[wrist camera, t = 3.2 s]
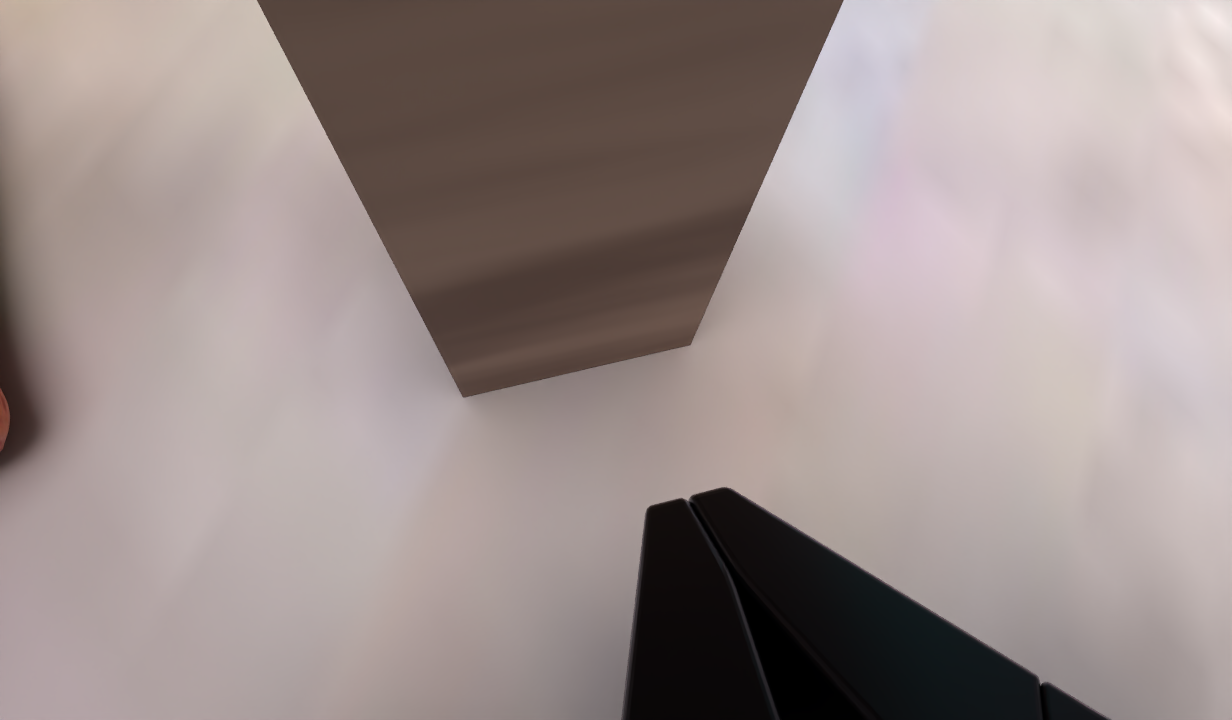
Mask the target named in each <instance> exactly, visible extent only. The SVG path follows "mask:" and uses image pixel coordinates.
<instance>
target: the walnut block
mask: <svg viewBox="0 0 1232 720" xmlns="http://www.w3.org/2000/svg"><path fill="white" fill-rule="evenodd" d="M257 1H258V3H259V5H260V7H261V9H262V11H263V13H264V15H265V16H266V18H267V20H268V22H269V24H270V26H271V28H272V30H273V32H274V34H275V36H276V38H277V40H278V42H279V43H280V45H281V47H282V49H283V51H284V53H285V55H286V57H287V59H288V61H289V63H290V65H291V67H292V69H293V70H294V72H295V74H296V76H297V78H298V80H299V82H300V84H301V86H302V88H303V90H304V92H305V94H306V95H307V97H308V99H309V101H310V103H311V105H312V107H313V109H314V111H315V113H316V115H317V117H318V119H319V121H320V122H321V124H322V126H323V128H324V130H325V132H326V134H327V136H328V138H329V140H330V142H331V144H332V146H333V148H334V149H335V151H336V153H337V155H338V157H339V159H340V161H341V163H342V165H343V167H344V169H345V171H346V173H347V174H348V176H349V178H350V180H351V182H352V184H353V186H354V188H355V190H356V192H357V194H358V196H359V198H360V200H361V201H362V203H363V205H364V207H365V209H366V211H367V213H368V215H369V217H370V219H371V221H372V223H373V225H374V226H375V228H376V230H377V232H378V234H379V236H380V238H381V240H382V242H383V244H384V246H385V248H386V250H387V252H388V253H389V255H390V257H391V259H392V261H393V263H394V265H395V267H396V269H397V271H398V273H399V275H400V277H401V279H402V280H403V282H404V284H405V286H406V288H407V290H408V292H409V294H410V296H411V298H412V300H413V302H414V304H415V305H416V307H417V309H418V311H419V313H420V315H421V317H422V319H423V321H424V323H425V325H426V327H427V329H428V331H429V332H430V334H431V336H432V338H433V340H434V342H435V344H436V346H437V348H438V350H439V352H440V354H441V356H442V357H443V359H444V361H445V363H446V365H447V367H448V369H449V371H450V373H451V375H452V377H453V379H454V381H455V383H456V384H457V386H458V388H459V390H460V392H461V394H462V396H463V397H467V396H472V395H476V394H480V393H485V392H489V391H493V390H497V389H502V388H506V387H510V386H515V385H519V384H523V383H528V382H532V381H536V380H541V379H545V378H549V377H553V376H558V375H562V374H566V373H571V372H575V371H579V370H584V369H588V368H592V367H597V366H601V365H605V364H609V363H614V362H618V361H622V360H627V359H631V358H635V357H640V356H644V355H648V354H653V353H657V352H661V351H665V350H670V349H674V348H678V347H683V346H687V345H690V344H691V342H692V340H693V338H694V335H695V333H696V331H697V329H698V326H699V324H700V322H701V320H702V317H703V315H704V313H705V311H706V308H707V306H708V304H709V302H710V299H711V297H712V295H713V293H714V290H715V288H716V286H717V284H718V281H719V279H720V277H721V275H722V272H723V270H724V268H725V266H726V263H727V261H728V259H729V257H730V254H731V252H732V250H733V248H734V245H735V243H736V241H737V239H738V236H739V234H740V232H741V230H742V227H743V225H744V223H745V221H746V218H747V216H748V214H749V212H750V210H751V207H752V205H753V203H754V201H755V198H756V196H757V194H758V192H759V189H760V187H761V185H762V183H763V180H764V178H765V176H766V174H767V171H768V169H769V167H770V165H771V162H772V160H773V158H774V156H775V153H776V151H777V149H778V147H779V144H780V142H781V140H782V138H783V135H784V133H785V131H786V129H787V126H788V124H789V122H790V120H791V117H792V115H793V113H794V111H795V108H796V106H797V104H798V102H799V99H800V97H801V95H802V93H803V90H804V88H805V86H806V84H807V81H808V79H809V77H810V75H811V72H812V70H813V68H814V66H815V63H816V61H817V59H818V57H819V54H820V52H821V50H822V48H823V45H824V43H825V41H826V39H827V36H828V34H829V32H830V30H831V27H832V25H833V23H834V21H835V18H836V16H837V14H838V12H839V9H840V7H841V5H842V3H843V0H257Z"/></svg>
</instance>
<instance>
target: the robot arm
mask: <svg viewBox="0 0 1232 720" xmlns="http://www.w3.org/2000/svg"><path fill="white" fill-rule="evenodd" d="M621 720H1111V719H1109V718H1107V717H1106V716H1104V715H1102V714H1100V713H1099V712H1097V711H1095V710H1094V709H1092V708H1090V707H1089V706H1087V705H1085V704H1084V703H1082V702H1081V701H1079V700H1077V699H1076V698H1074V697H1072V696H1071V695H1069V694H1067V693H1066V692H1064V691H1063V690H1061V689H1059V688H1058V687H1056V686H1054V685H1053V684H1051V683H1049V682H1044V683H1042V684H1041V686H1040V680H1039V677H1038V676H1037V675H1036V674H1034V673H1032V672H1031V671H1029V670H1027V669H1026V668H1024V667H1023V666H1021V665H1019V664H1018V663H1016V662H1014V661H1013V660H1011V659H1009V658H1008V657H1006V656H1005V655H1003V654H1001V653H1000V652H998V651H996V650H995V649H993V648H991V647H990V646H988V645H987V644H985V643H983V642H982V641H980V640H978V639H977V638H975V637H973V636H972V635H970V634H969V633H967V632H965V631H964V630H962V629H960V628H959V627H957V626H955V625H954V624H952V623H951V622H949V621H947V620H946V619H944V618H942V617H941V616H939V615H937V614H936V613H934V612H933V611H931V610H929V609H928V608H926V607H924V606H923V605H921V604H919V603H918V602H916V601H915V600H913V599H911V598H910V597H908V596H906V595H905V594H903V593H901V592H900V591H898V590H897V589H895V588H893V587H892V586H890V585H888V584H887V583H885V582H883V581H882V580H880V579H879V578H877V577H875V576H874V575H872V574H870V573H869V572H867V571H865V570H864V569H862V568H861V567H859V566H857V565H856V564H854V563H852V562H851V561H849V560H847V559H846V558H844V557H843V556H841V555H839V554H838V553H836V552H834V551H833V550H831V549H829V548H828V547H826V546H825V545H823V544H821V543H820V542H818V541H816V540H815V539H813V538H811V537H810V536H808V535H807V534H805V533H803V532H802V531H800V530H798V529H797V528H795V527H793V526H792V525H790V524H789V523H787V522H785V521H784V520H782V519H780V518H779V517H777V516H775V515H774V514H772V513H771V512H769V511H767V510H766V509H764V508H762V507H761V506H759V505H757V504H756V503H754V502H753V501H751V500H749V499H748V498H746V497H744V496H743V495H741V494H739V493H738V492H736V491H735V490H733V489H731V488H727V487H722V488H718V489H714V490H710V491H706V492H702V493H698V494H694V495H692V496H691V497H690V499H689V501H687V500H685V499H683V498H679V499H675V500H671V501H667V502H663V503H659V504H655V505H652V506H650V507H648V508H647V510H646V513H645V521H644V530H643V538H642V547H641V556H640V564H639V573H638V581H637V590H636V598H635V607H634V615H633V624H632V632H631V641H630V650H629V658H628V667H627V675H626V684H625V692H624V701H623V709H622V718H621Z"/></svg>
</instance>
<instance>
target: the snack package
mask: <svg viewBox="0 0 1232 720" xmlns="http://www.w3.org/2000/svg"><path fill="white" fill-rule="evenodd" d="M9 424H10V411H9V407H8V403H7V401H6V398H5V396H4V394H3V392H2V390H1V388H0V451H1V450H2V449H3V446H4V443H5V440H6V437H7V434H8V431H9Z"/></svg>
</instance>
